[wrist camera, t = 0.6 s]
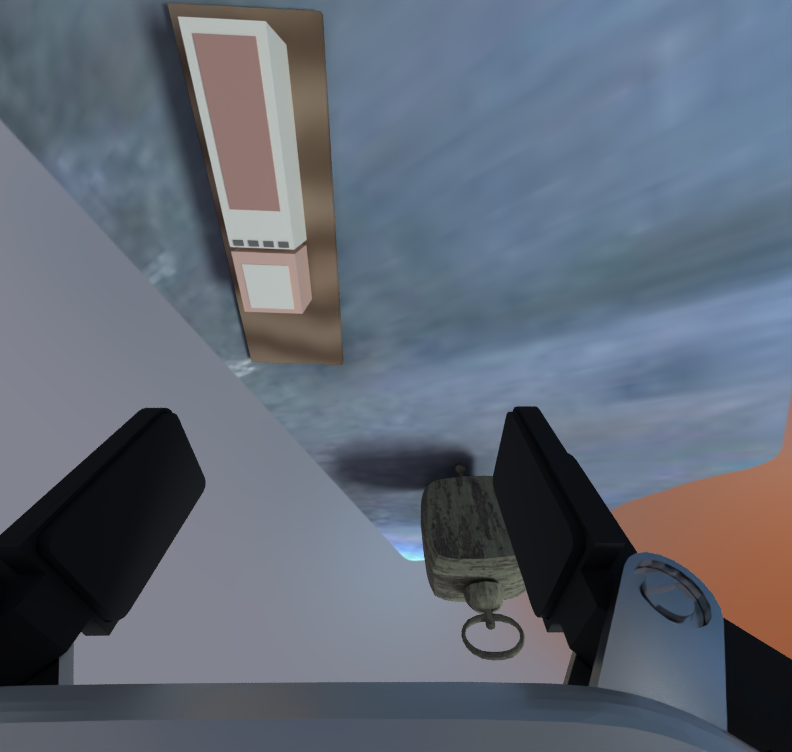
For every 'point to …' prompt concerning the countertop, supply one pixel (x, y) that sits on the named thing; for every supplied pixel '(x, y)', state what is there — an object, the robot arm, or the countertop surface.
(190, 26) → the white box with vents
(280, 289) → the stub
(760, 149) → the countertop surface
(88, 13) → the countertop surface
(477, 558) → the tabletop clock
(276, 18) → the board
